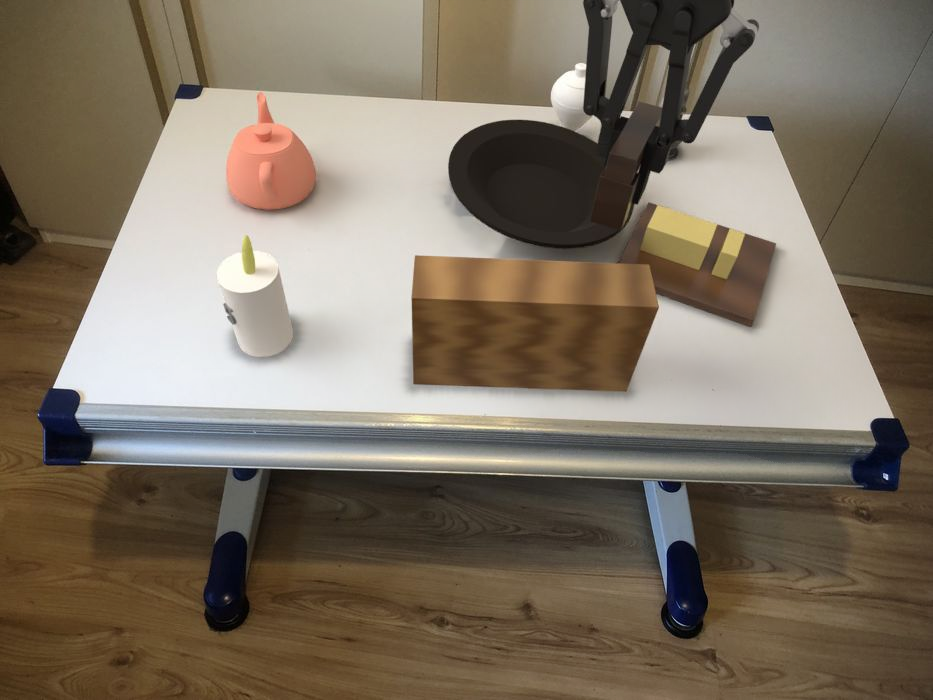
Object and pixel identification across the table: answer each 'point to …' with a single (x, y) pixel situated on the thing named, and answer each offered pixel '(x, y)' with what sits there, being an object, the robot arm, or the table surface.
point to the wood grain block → (529, 322)
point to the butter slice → (728, 254)
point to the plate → (531, 182)
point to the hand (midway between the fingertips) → (621, 190)
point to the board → (708, 274)
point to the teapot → (269, 164)
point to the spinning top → (570, 98)
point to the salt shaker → (674, 150)
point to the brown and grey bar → (624, 167)
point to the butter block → (678, 237)
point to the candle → (255, 301)
